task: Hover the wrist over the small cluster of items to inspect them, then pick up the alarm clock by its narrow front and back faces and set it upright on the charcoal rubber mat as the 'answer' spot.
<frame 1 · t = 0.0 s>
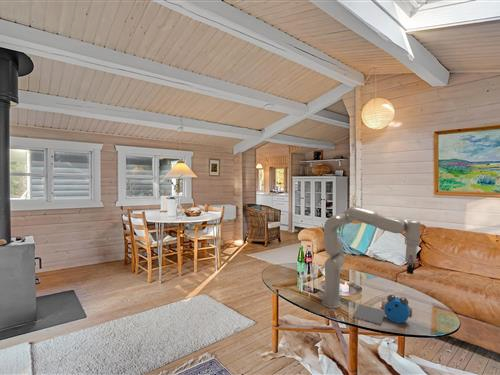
hand: (410, 271, 172), 31 cm above the table, fingers open, 9 cm apart
alarm clock: (396, 321, 177), on the table
tan egg shape: (385, 308, 193), on the table
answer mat: (369, 314, 184), on the table
walnut block: (408, 315, 185), on the table
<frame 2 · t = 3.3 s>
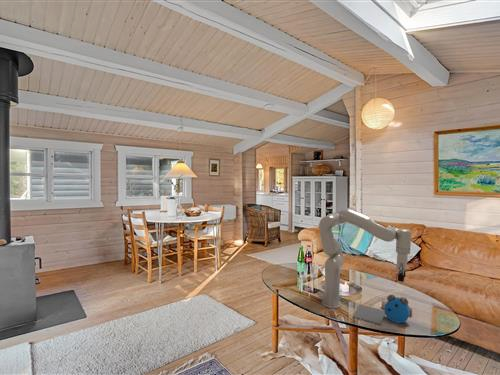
hand: (401, 278, 175), 26 cm above the table, fingers open, 9 cm apart
nothing on the table moved.
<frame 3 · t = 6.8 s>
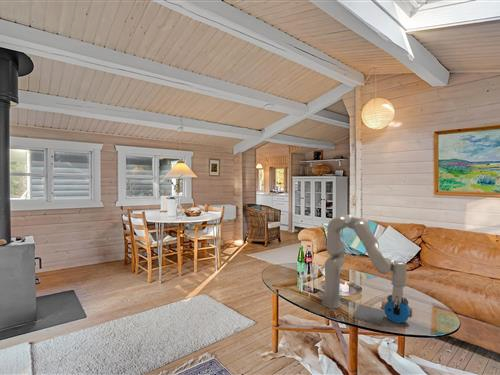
hand: (397, 311, 176), 6 cm above the table, fingers closed on alarm clock, 6 cm apart
alarm clock: (396, 321, 177), on the table, touching gripper
everything else where it was.
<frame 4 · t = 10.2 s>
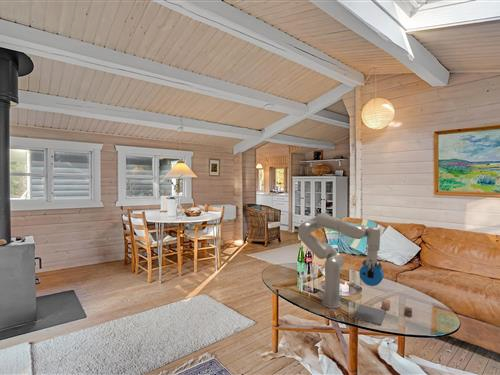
hand: (371, 275, 183), 24 cm above the table, fingers closed on alarm clock, 6 cm apart
alarm clock: (370, 285, 184), point 18 cm above the table, touching gripper
everything else where it was.
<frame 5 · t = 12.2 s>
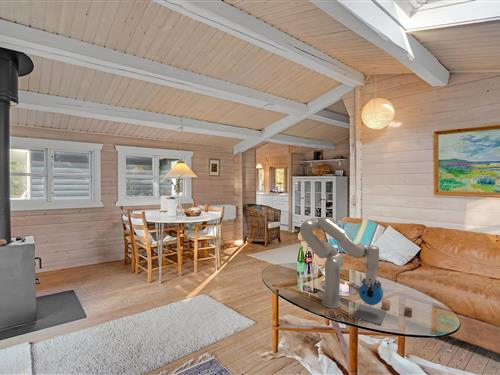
hand: (371, 294, 184), 13 cm above the table, fingers closed on alarm clock, 6 cm apart
alarm clock: (370, 303, 184), point 7 cm above the table, touching gripper
everything else where it was.
when the fingers open (7 cm above the table, at t = 13.8 s): alarm clock drops 1 cm, resting on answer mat.
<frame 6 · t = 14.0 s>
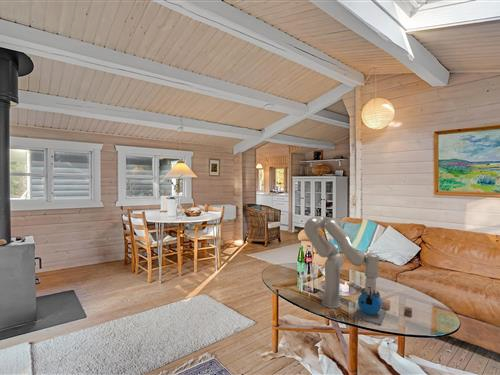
hand: (370, 301, 184), 8 cm above the table, fingers open, 8 cm apart
alarm clock: (369, 313, 184), point 1 cm above the table, touching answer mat
everything else where it was.
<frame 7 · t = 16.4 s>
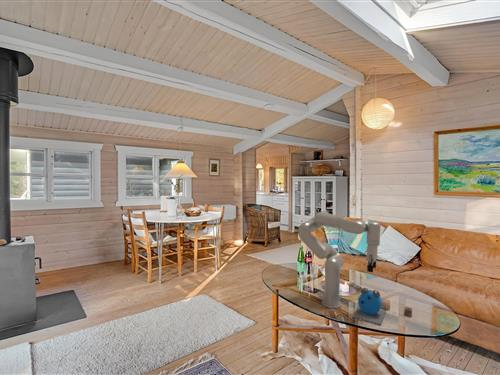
hand: (371, 269, 183), 28 cm above the table, fingers open, 9 cm apart
nothing on the table moved.
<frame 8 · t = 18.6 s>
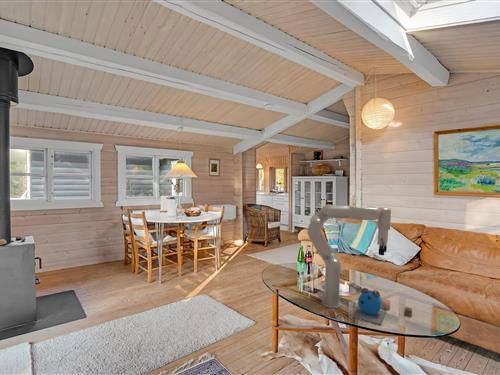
hand: (382, 253, 191), 36 cm above the table, fingers open, 9 cm apart
nothing on the table moved.
at the end: alarm clock inside the target area on the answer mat (0.7 cm from its centre), point 0.6 cm above the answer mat's base; alarm clock tilted 0°; the gripper is holding nothing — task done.
